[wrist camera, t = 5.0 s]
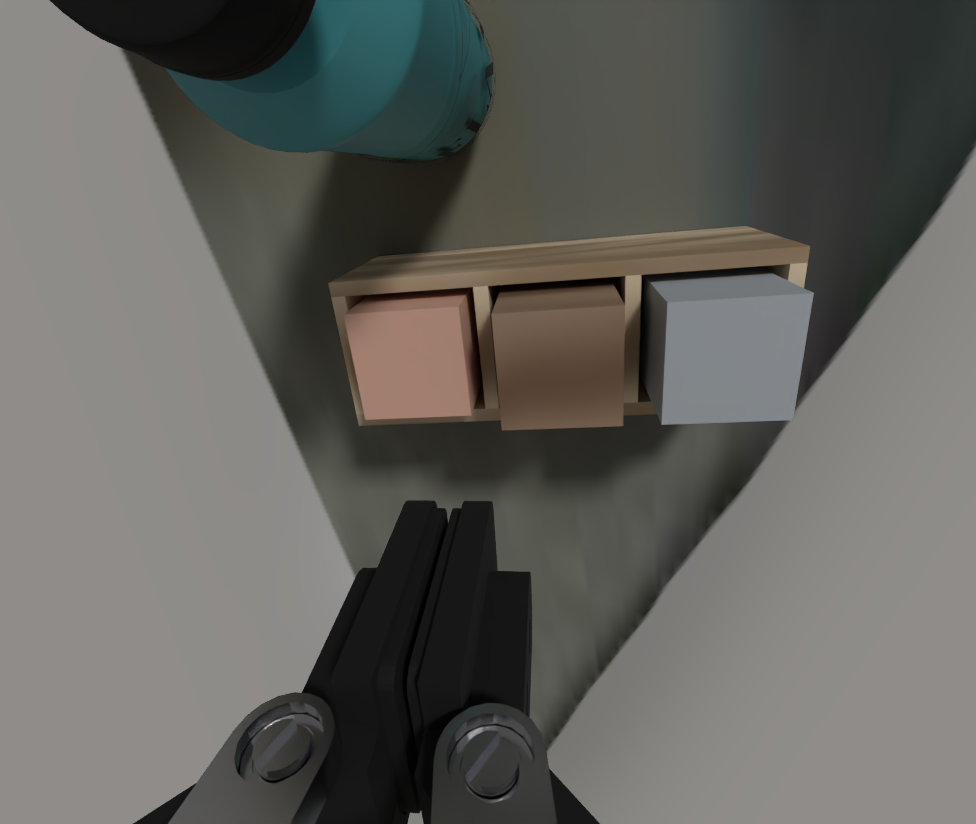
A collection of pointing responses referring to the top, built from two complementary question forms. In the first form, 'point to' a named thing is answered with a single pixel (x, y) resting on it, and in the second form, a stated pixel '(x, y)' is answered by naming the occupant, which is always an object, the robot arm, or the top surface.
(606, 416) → the brown cube
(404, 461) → the top surface
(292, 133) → the beverage bottle
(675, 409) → the grey cube
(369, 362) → the salmon pink cube
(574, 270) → the wooden compartment box
